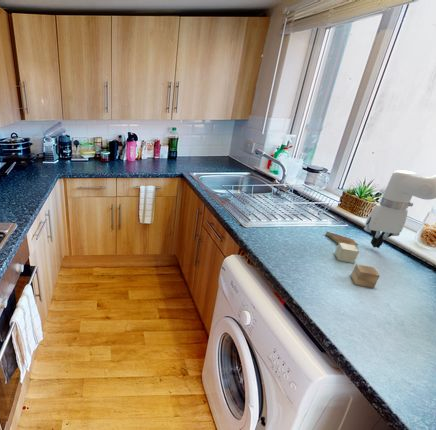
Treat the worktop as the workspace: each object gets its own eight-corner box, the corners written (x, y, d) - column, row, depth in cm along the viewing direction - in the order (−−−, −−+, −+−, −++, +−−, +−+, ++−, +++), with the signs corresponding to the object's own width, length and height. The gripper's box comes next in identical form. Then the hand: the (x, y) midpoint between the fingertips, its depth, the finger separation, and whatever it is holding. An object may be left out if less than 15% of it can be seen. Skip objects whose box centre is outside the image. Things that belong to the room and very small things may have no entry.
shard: (324, 234, 126) (326, 230, 126) (343, 235, 126) (344, 231, 125) (339, 246, 117) (341, 243, 116) (359, 248, 116) (361, 244, 115)
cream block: (349, 256, 110) (354, 245, 108) (353, 263, 106) (359, 251, 104) (334, 253, 112) (338, 242, 110) (337, 260, 108) (342, 248, 105)
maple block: (368, 279, 97) (374, 267, 95) (373, 288, 93) (380, 275, 91) (350, 275, 99) (355, 263, 97) (355, 284, 94) (360, 271, 92)
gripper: (414, 203, 108) (394, 245, 116) (365, 197, 113) (349, 238, 121) (424, 210, 102) (402, 254, 109) (373, 204, 107) (355, 246, 114)
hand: (375, 246), depth 115 cm, fingers closed
